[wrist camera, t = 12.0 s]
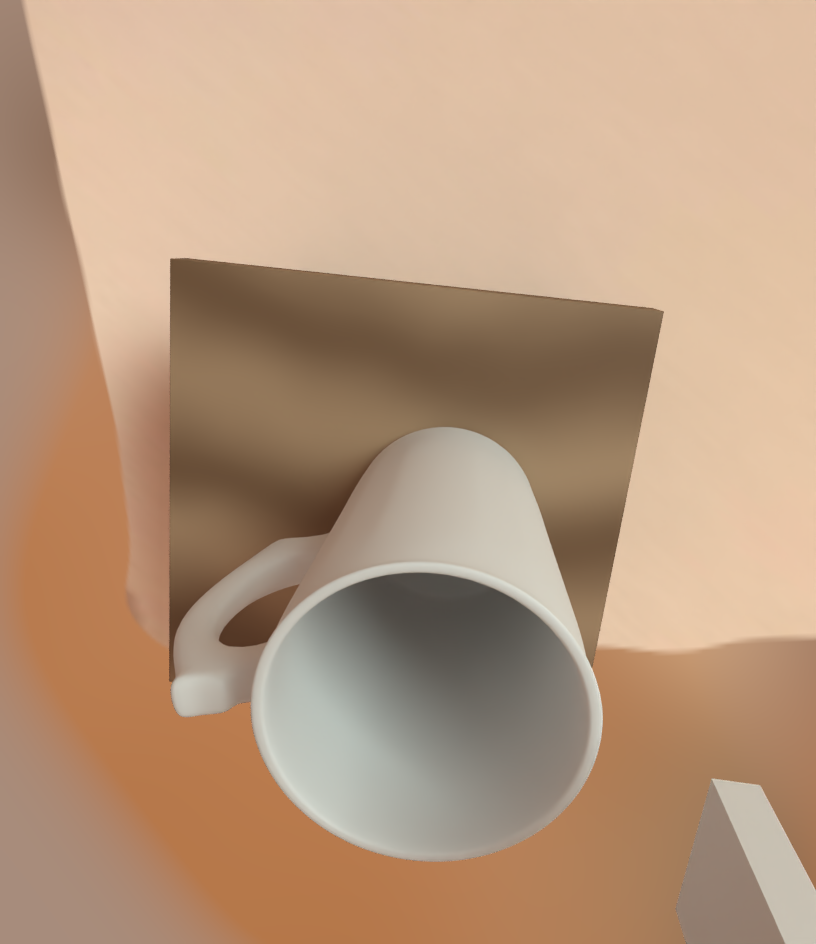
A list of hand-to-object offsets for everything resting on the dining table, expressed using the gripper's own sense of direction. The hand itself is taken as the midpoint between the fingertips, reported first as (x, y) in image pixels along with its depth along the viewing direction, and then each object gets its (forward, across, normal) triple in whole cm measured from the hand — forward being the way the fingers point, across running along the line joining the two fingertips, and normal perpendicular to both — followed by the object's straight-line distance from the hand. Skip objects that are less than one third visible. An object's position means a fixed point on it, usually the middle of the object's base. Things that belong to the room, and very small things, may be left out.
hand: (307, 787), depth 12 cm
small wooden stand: (+24, 0, -1) cm, 25 cm away
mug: (+14, 0, 0) cm, 14 cm away
